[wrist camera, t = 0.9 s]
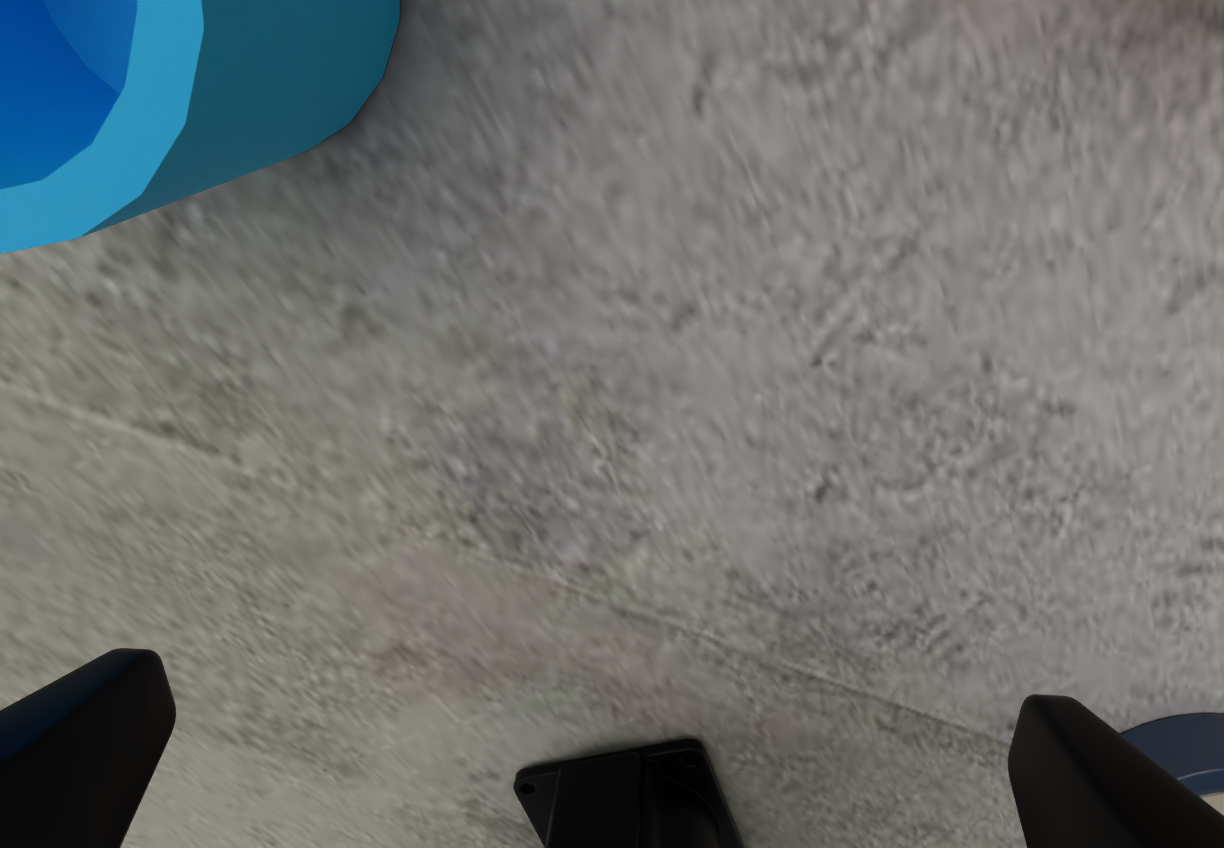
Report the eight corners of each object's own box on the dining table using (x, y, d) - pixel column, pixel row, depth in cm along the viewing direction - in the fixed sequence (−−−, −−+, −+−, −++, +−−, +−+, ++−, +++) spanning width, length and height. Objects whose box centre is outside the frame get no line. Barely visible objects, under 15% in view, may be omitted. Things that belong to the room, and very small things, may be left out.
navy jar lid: (1306, 852, 27) (1353, 916, 25) (1074, 882, 28) (1102, 945, 26) (1308, 692, 24) (1361, 751, 22) (1051, 736, 25) (1080, 794, 24)
